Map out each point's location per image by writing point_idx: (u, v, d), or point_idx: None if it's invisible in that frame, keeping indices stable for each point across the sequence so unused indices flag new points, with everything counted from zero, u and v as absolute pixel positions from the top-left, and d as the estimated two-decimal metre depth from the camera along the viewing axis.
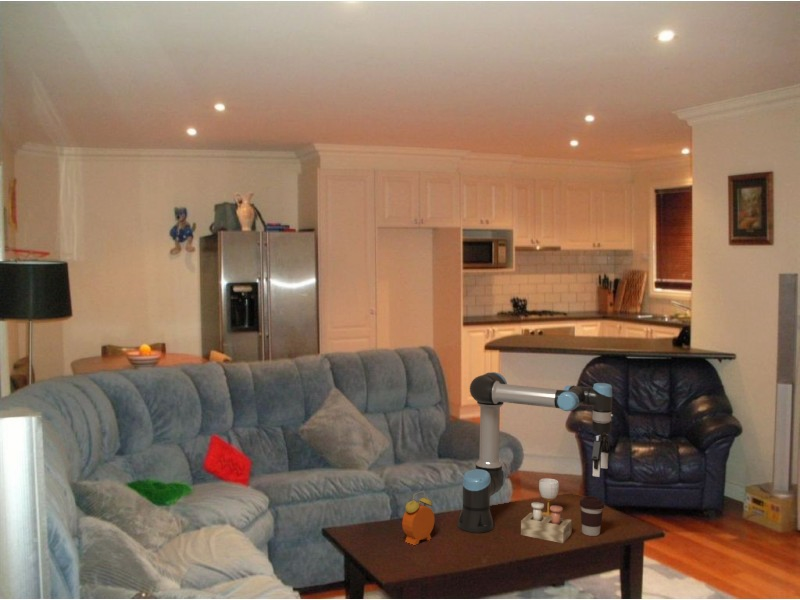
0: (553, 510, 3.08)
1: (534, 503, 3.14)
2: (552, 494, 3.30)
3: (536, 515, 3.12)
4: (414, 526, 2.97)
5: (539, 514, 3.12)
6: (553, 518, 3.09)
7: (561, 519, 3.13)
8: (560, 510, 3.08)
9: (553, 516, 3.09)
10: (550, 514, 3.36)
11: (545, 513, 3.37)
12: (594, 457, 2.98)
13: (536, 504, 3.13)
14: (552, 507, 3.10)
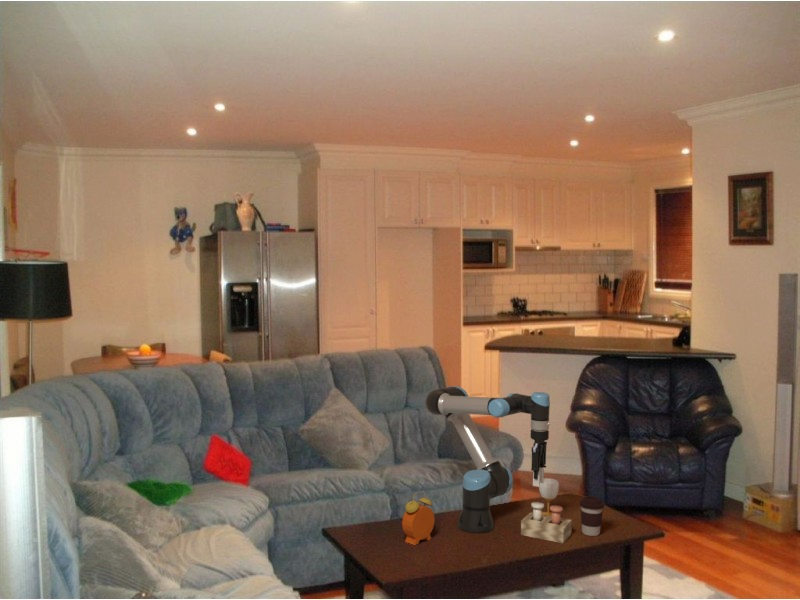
0: (553, 510, 3.08)
1: (534, 503, 3.14)
2: (552, 494, 3.30)
3: (536, 515, 3.12)
4: (414, 526, 2.97)
5: (539, 514, 3.12)
6: (553, 518, 3.09)
7: (561, 519, 3.13)
8: (560, 510, 3.08)
9: (553, 516, 3.09)
10: (550, 514, 3.36)
11: (545, 513, 3.37)
12: (534, 467, 3.08)
13: (536, 504, 3.13)
14: (552, 507, 3.10)
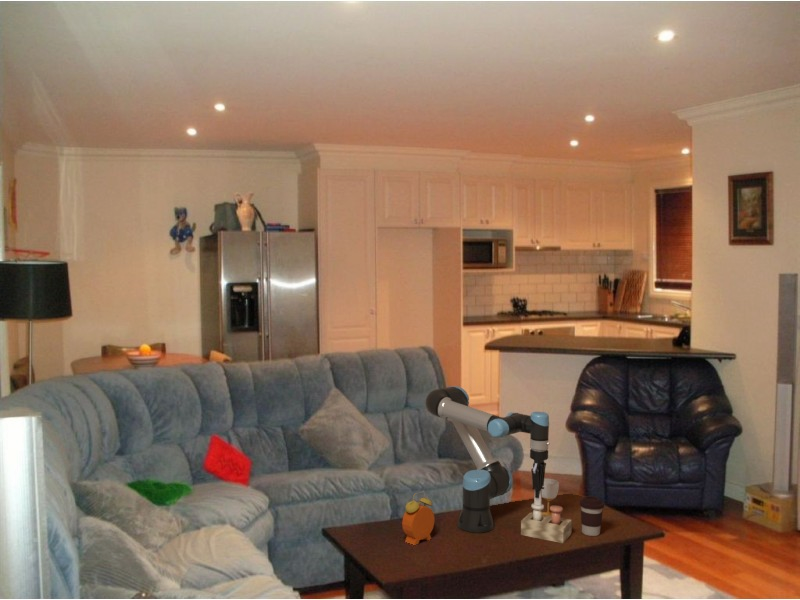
0: (553, 510, 3.08)
1: None
2: (552, 494, 3.30)
3: (536, 516, 3.12)
4: (414, 526, 2.97)
5: (539, 515, 3.12)
6: (553, 518, 3.09)
7: (561, 519, 3.13)
8: (560, 510, 3.08)
9: (553, 516, 3.09)
10: (550, 514, 3.36)
11: (545, 513, 3.37)
12: (535, 487, 3.10)
13: (536, 505, 3.13)
14: (552, 507, 3.10)
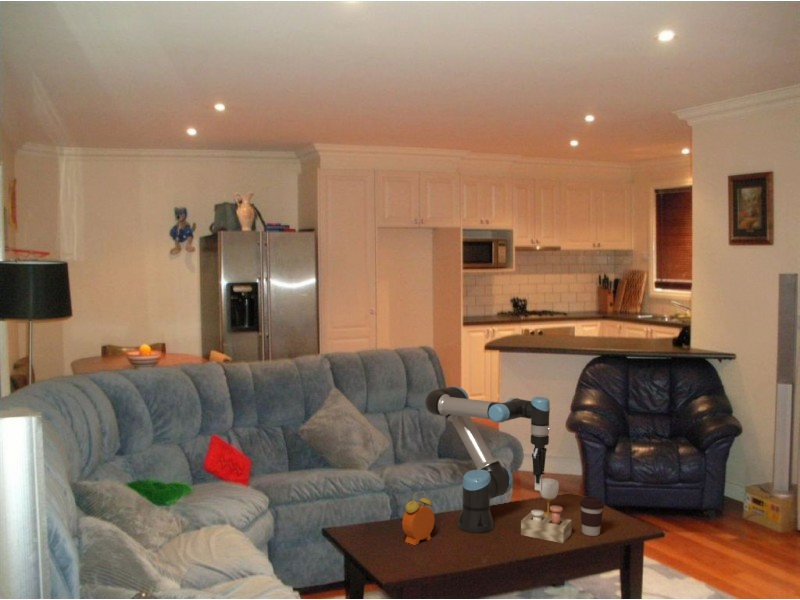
0: (553, 510, 3.08)
1: (534, 510, 3.15)
2: (552, 494, 3.30)
3: None
4: (414, 526, 2.97)
5: None
6: (553, 518, 3.09)
7: (561, 519, 3.13)
8: (560, 510, 3.08)
9: (553, 516, 3.09)
10: (550, 514, 3.36)
11: (545, 513, 3.37)
12: (535, 472, 3.10)
13: (536, 512, 3.13)
14: (552, 507, 3.10)
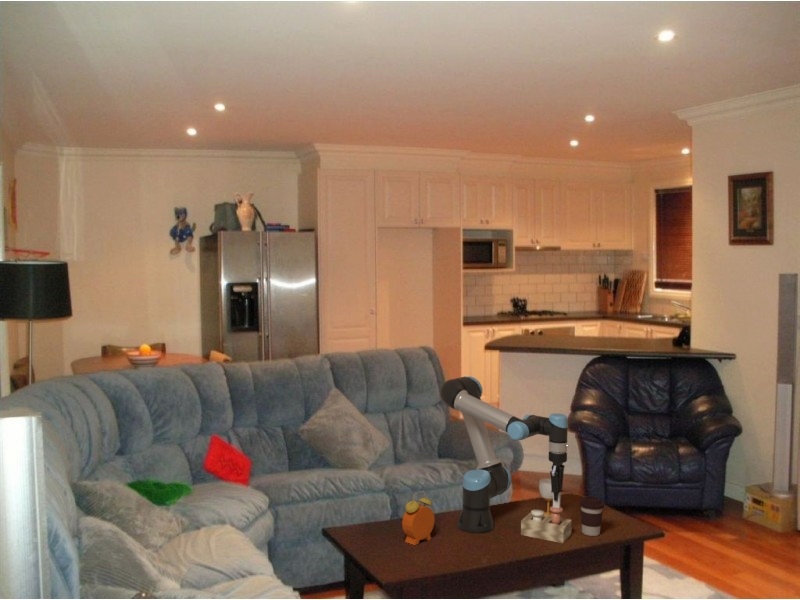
0: (553, 511, 3.08)
1: (534, 510, 3.15)
2: (552, 494, 3.30)
3: None
4: (414, 526, 2.97)
5: None
6: (553, 519, 3.09)
7: (561, 519, 3.13)
8: (560, 511, 3.08)
9: (553, 517, 3.09)
10: (550, 514, 3.36)
11: (545, 513, 3.37)
12: (554, 489, 3.06)
13: (536, 512, 3.13)
14: (552, 508, 3.10)
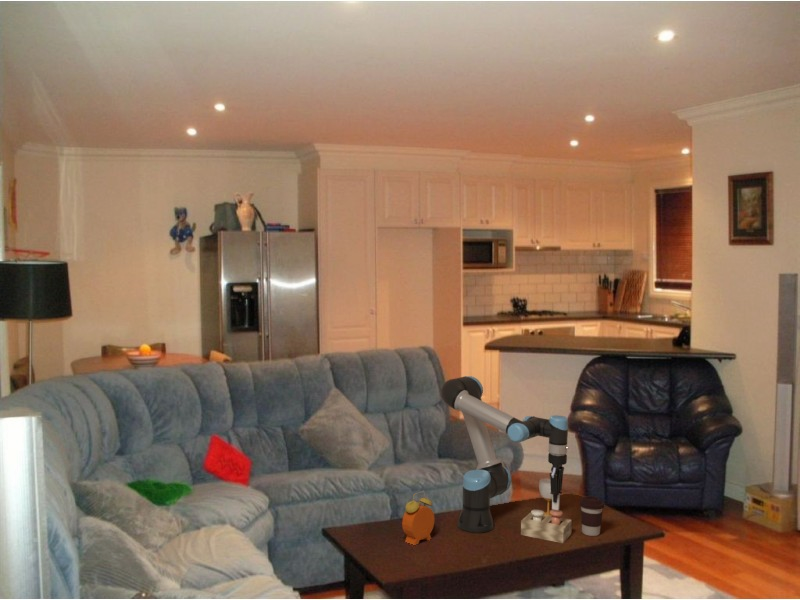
0: (553, 514, 3.08)
1: (534, 510, 3.15)
2: None
3: None
4: (414, 526, 2.97)
5: None
6: (553, 522, 3.09)
7: (561, 519, 3.13)
8: (560, 514, 3.08)
9: (553, 520, 3.09)
10: None
11: (545, 513, 3.37)
12: None
13: (536, 512, 3.13)
14: (552, 511, 3.10)
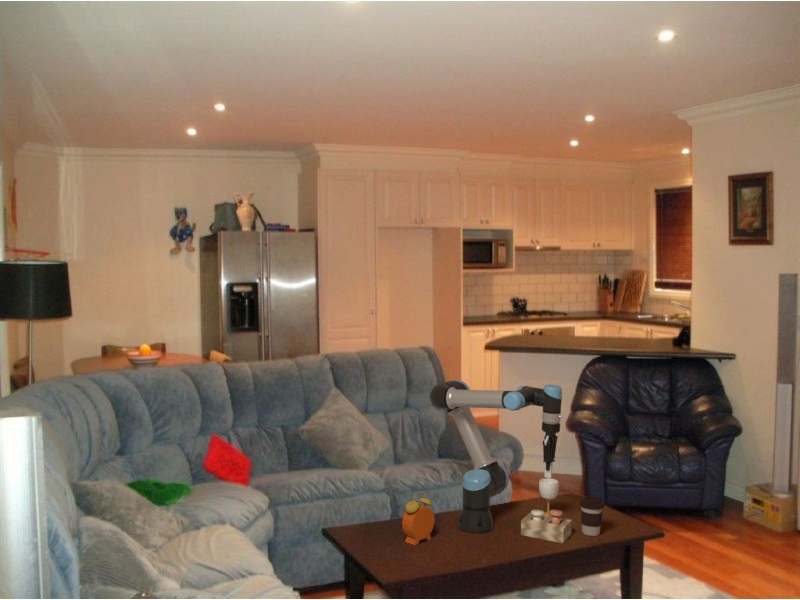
0: (553, 514, 3.08)
1: (534, 510, 3.15)
2: (552, 494, 3.30)
3: None
4: (414, 526, 2.97)
5: None
6: (553, 522, 3.09)
7: (561, 519, 3.13)
8: (560, 514, 3.08)
9: (553, 520, 3.09)
10: None
11: (545, 513, 3.37)
12: None
13: (536, 512, 3.13)
14: (552, 511, 3.10)
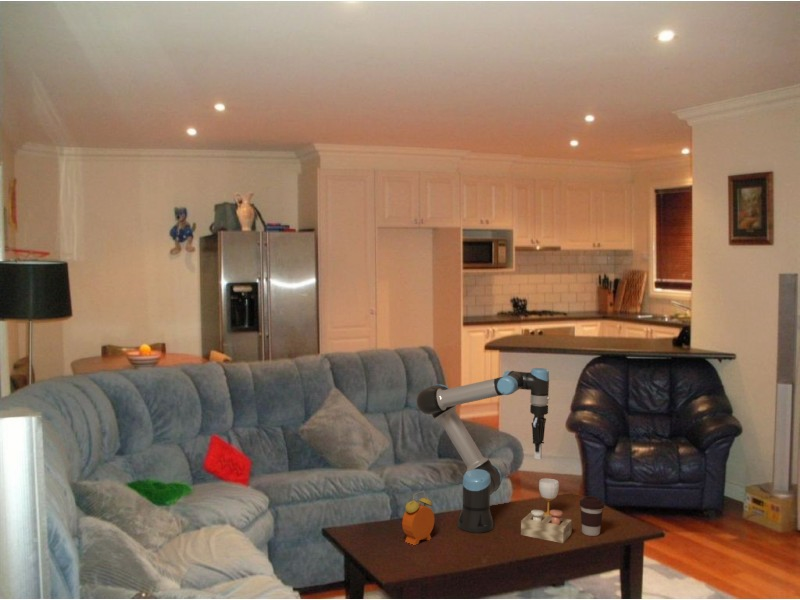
0: (553, 514, 3.08)
1: (534, 510, 3.15)
2: (552, 494, 3.30)
3: None
4: (414, 526, 2.97)
5: None
6: (553, 522, 3.09)
7: (561, 519, 3.13)
8: (560, 514, 3.08)
9: (553, 520, 3.09)
10: None
11: (545, 513, 3.37)
12: (535, 441, 3.18)
13: (536, 512, 3.13)
14: (552, 511, 3.10)
